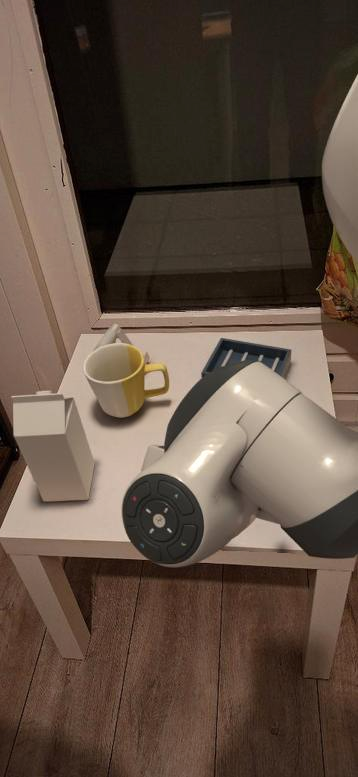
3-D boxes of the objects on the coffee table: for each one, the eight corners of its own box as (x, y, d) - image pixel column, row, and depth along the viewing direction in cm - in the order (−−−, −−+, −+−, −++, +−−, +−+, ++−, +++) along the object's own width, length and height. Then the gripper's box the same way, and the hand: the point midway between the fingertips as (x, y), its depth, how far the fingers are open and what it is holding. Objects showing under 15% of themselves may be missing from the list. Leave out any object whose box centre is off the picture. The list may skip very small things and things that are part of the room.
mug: (88, 426, 94) (74, 381, 87) (104, 386, 101) (92, 341, 94) (165, 430, 91) (157, 384, 84) (175, 389, 99) (169, 343, 92)
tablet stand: (134, 390, 99) (124, 354, 94) (95, 385, 102) (84, 350, 96) (150, 361, 105) (142, 325, 100) (113, 357, 108) (104, 322, 102)
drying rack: (290, 364, 101) (291, 349, 98) (275, 402, 94) (276, 387, 91) (221, 351, 105) (220, 337, 103) (202, 387, 99) (201, 372, 96)
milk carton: (89, 500, 82) (57, 412, 70) (43, 502, 83) (3, 415, 70) (95, 463, 88) (67, 375, 75) (52, 466, 88) (17, 379, 75)
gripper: (327, 489, 51) (336, 475, 64) (135, 441, 58) (178, 437, 71) (314, 554, 51) (326, 527, 64) (123, 498, 58) (169, 484, 71)
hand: (247, 480), depth 68 cm, fingers open, 8 cm apart
